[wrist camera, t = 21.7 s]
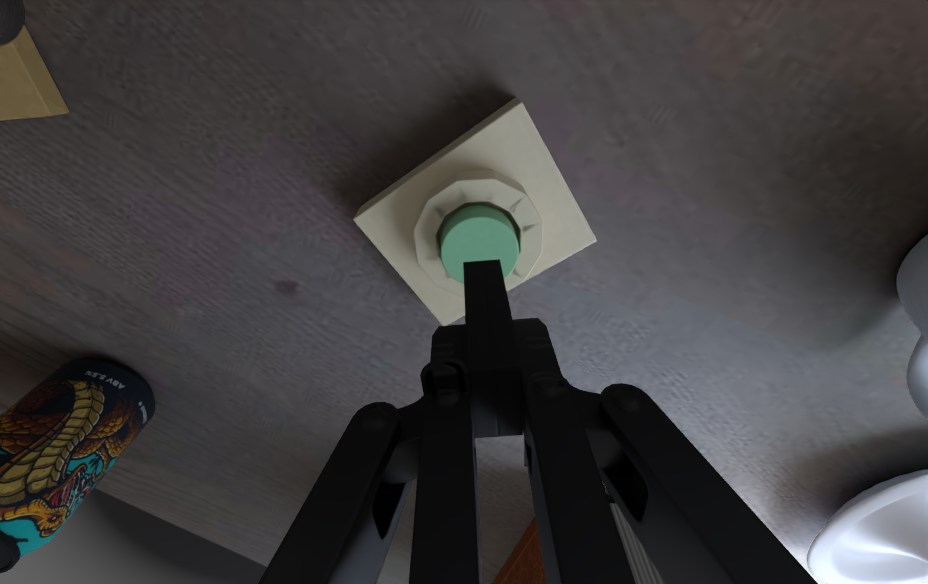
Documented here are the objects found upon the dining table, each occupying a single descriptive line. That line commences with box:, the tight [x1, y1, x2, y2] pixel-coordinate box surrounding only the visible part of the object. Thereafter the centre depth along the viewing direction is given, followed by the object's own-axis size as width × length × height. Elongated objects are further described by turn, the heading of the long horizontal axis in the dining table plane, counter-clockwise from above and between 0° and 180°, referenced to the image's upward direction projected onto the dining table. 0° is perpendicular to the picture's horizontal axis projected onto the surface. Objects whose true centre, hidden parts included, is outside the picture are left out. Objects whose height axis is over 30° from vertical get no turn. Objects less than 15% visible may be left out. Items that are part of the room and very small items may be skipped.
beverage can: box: [0, 359, 155, 573], centre depth 27 cm, size 7×7×12 cm
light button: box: [441, 205, 519, 284], centre depth 22 cm, size 4×4×2 cm
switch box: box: [353, 98, 597, 326], centre depth 24 cm, size 11×9×4 cm
